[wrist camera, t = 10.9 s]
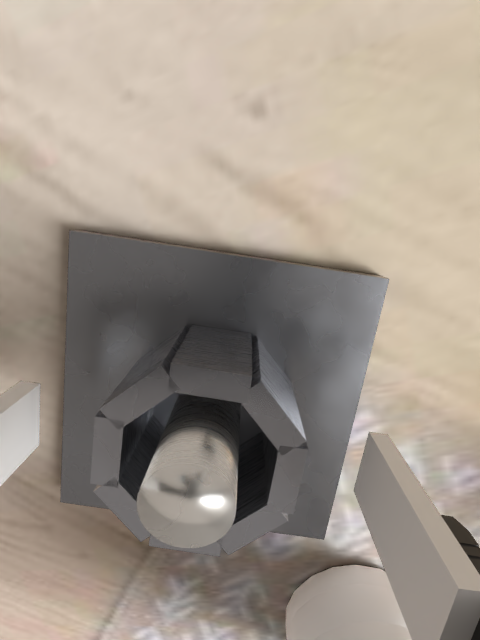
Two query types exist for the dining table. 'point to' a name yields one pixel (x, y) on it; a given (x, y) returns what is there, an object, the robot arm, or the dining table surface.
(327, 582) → the bottle
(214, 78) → the dining table surface
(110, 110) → the dining table surface
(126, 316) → the piston jig
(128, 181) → the dining table surface
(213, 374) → the ring
